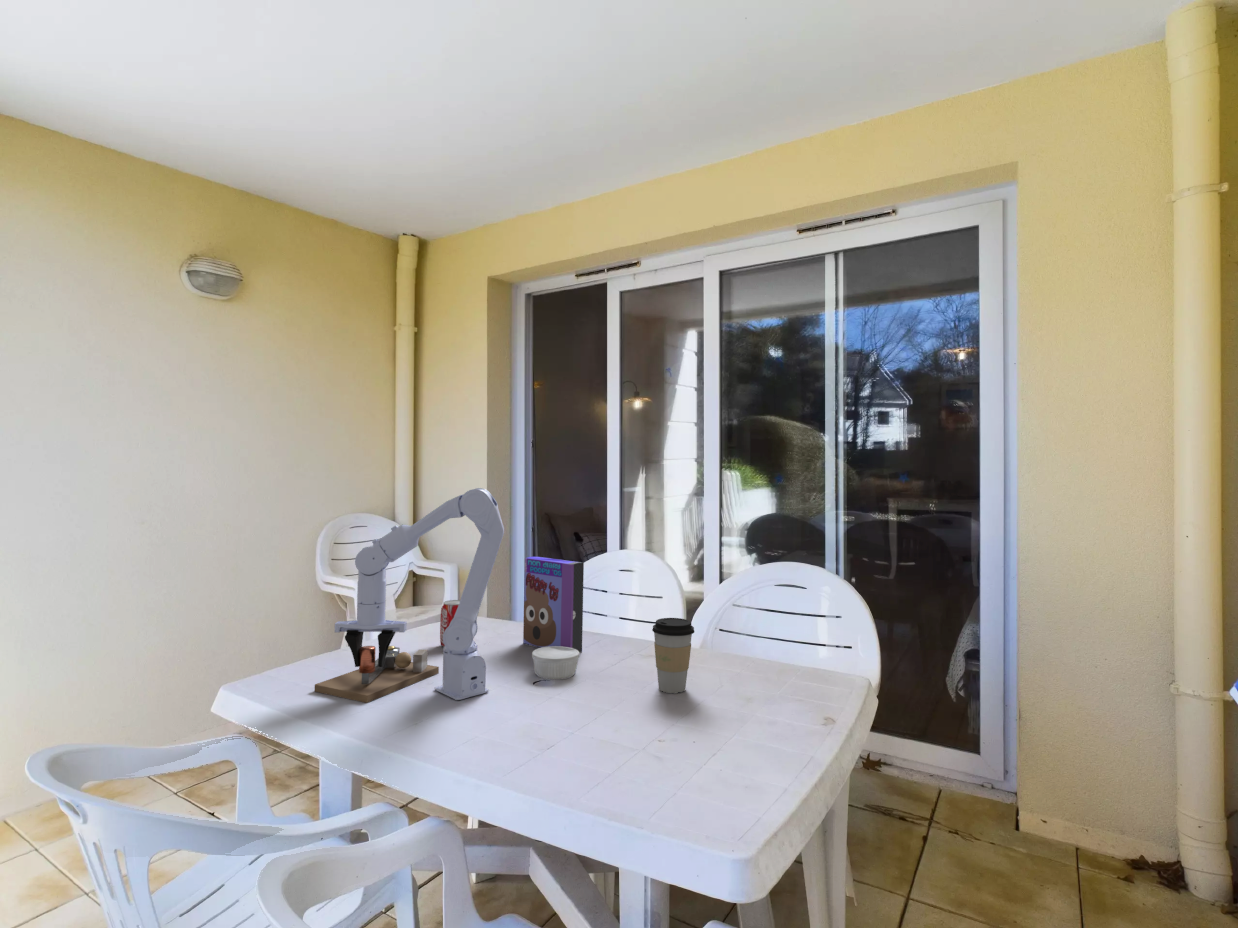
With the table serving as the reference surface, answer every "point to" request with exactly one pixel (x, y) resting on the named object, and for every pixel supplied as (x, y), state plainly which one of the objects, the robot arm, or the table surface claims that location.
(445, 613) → the soda can
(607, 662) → the table surface
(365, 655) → the lever
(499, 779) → the table surface
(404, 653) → the walnut
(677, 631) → the coffee cup
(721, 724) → the table surface
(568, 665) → the ramekin
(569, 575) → the cereal box
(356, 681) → the board
